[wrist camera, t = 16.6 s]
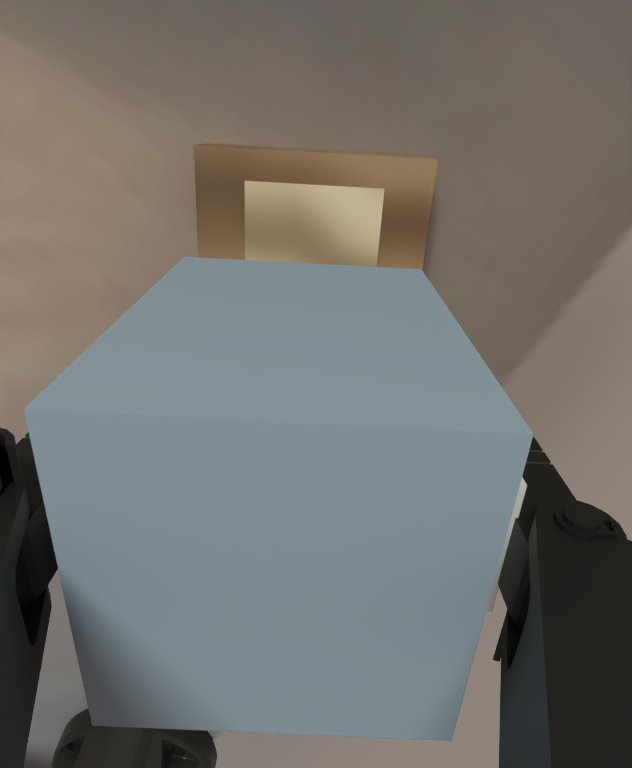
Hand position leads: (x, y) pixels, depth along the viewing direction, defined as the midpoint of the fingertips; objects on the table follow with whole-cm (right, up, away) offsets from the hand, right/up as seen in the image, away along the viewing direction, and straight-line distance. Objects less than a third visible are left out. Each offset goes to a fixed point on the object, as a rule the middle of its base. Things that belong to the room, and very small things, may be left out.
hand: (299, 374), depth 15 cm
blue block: (0, 0, 0) cm, 0 cm away
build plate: (0, +3, +19) cm, 19 cm away
